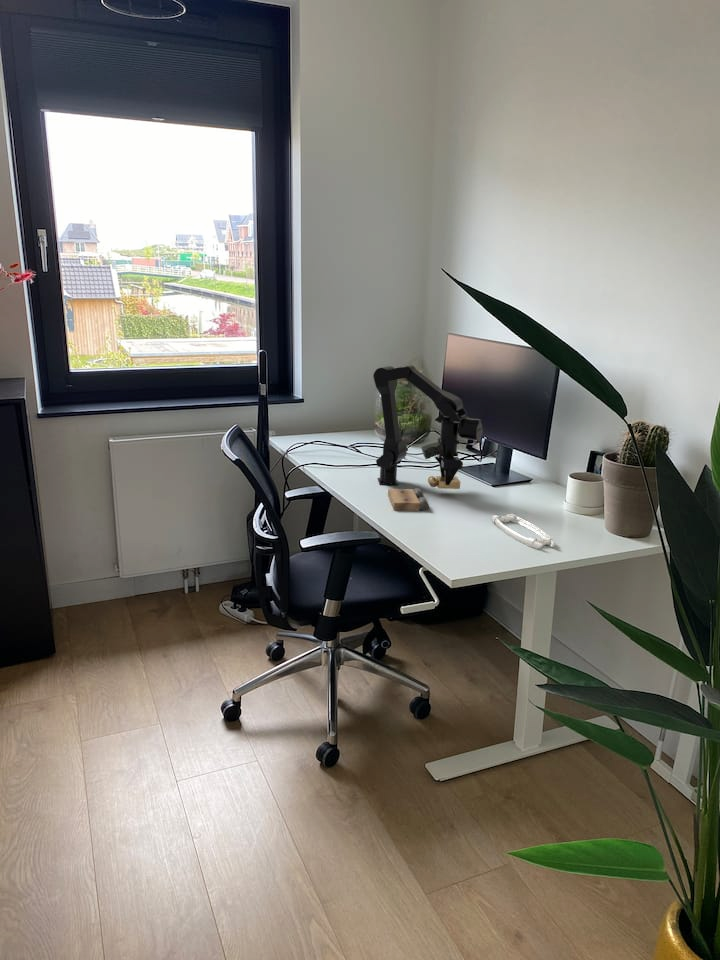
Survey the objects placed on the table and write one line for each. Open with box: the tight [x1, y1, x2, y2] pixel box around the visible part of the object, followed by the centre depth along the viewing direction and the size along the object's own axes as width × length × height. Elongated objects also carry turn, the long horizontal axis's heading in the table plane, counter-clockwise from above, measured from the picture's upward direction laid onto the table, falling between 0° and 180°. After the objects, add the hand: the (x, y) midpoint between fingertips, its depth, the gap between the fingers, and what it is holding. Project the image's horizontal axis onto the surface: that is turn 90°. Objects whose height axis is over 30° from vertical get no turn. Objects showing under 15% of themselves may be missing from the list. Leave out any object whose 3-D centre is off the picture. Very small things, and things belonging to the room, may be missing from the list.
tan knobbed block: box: [427, 475, 461, 490], centre depth 238 cm, size 10×6×3 cm, turn 95°
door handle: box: [491, 513, 556, 550], centre depth 206 cm, size 3×10×25 cm
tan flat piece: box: [387, 487, 430, 511], centre depth 228 cm, size 11×14×3 cm
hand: (445, 482), depth 238 cm, fingers closed on tan knobbed block, 6 cm apart
